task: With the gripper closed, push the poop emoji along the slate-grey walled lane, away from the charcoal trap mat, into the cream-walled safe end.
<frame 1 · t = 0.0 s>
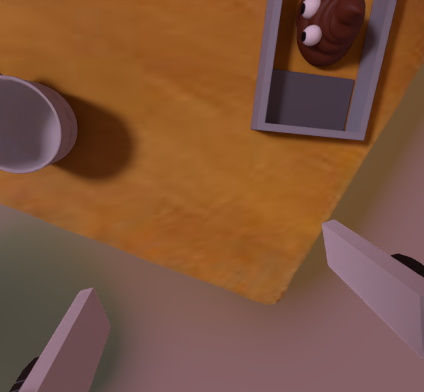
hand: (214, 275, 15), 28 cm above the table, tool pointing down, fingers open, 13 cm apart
teacup: (39, 114, 38), on the table
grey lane: (320, 24, 38), on the table
poop emoji: (318, 29, 39), on the table
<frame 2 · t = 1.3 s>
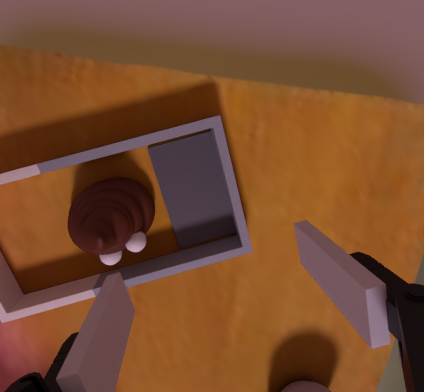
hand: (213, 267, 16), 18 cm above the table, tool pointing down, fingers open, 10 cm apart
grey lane: (112, 214, 33), on the table
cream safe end: (39, 235, 33), on the table
poop emoji: (116, 212, 33), on the table
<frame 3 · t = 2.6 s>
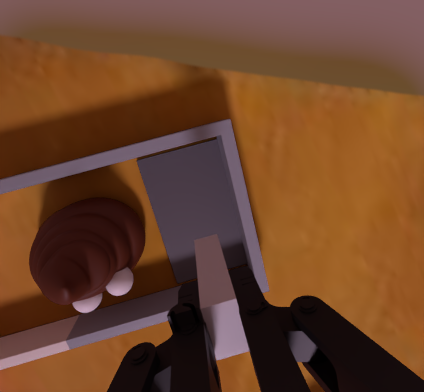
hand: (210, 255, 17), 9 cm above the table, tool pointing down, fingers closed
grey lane: (92, 243, 26), on the table
poop emoji: (97, 239, 27), on the table
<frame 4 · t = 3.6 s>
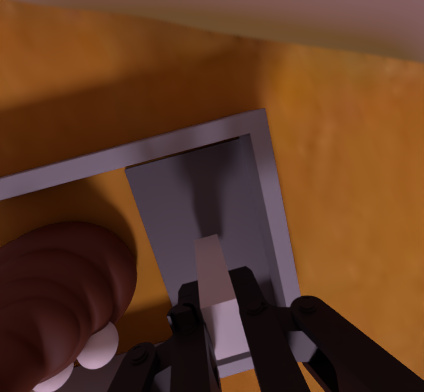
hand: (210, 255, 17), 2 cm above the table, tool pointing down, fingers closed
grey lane: (65, 282, 19), on the table
poop emoji: (71, 276, 19), on the table
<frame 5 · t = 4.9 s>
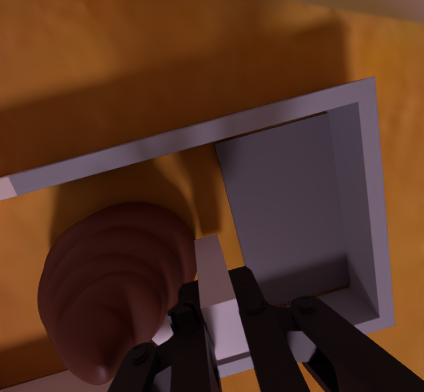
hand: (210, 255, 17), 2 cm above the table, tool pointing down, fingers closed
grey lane: (147, 259, 19), on the table
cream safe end: (21, 295, 19), on the table
poop emoji: (129, 259, 19), on the table
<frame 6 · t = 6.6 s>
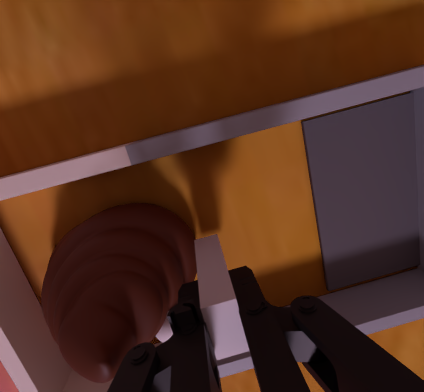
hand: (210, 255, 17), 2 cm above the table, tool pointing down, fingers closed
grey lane: (227, 237, 19), on the table
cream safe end: (103, 272, 19), on the table
poop emoji: (130, 260, 19), on the table, touching gripper
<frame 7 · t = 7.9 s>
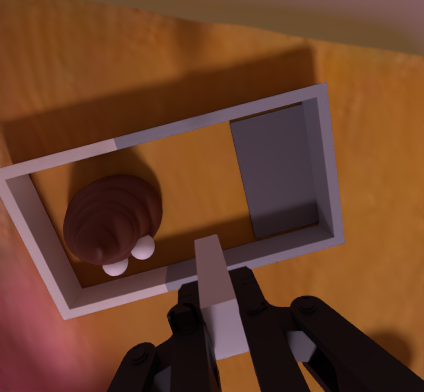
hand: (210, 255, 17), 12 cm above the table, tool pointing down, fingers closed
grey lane: (184, 200, 29), on the table
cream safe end: (102, 222, 29), on the table
poop emoji: (119, 214, 29), on the table
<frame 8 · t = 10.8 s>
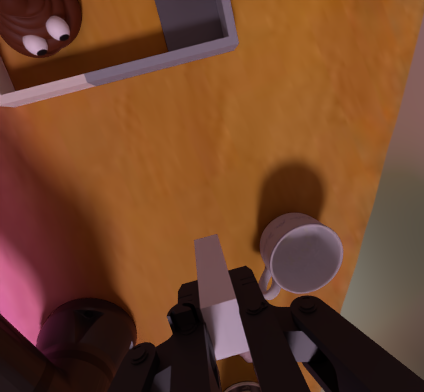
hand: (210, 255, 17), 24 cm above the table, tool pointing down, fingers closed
teacup: (278, 242, 45), on the table
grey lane: (103, 11, 34), on the table
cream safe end: (32, 29, 34), on the table
poop emoji: (45, 22, 34), on the table
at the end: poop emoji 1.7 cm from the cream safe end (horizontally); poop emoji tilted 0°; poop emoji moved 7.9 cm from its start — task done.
